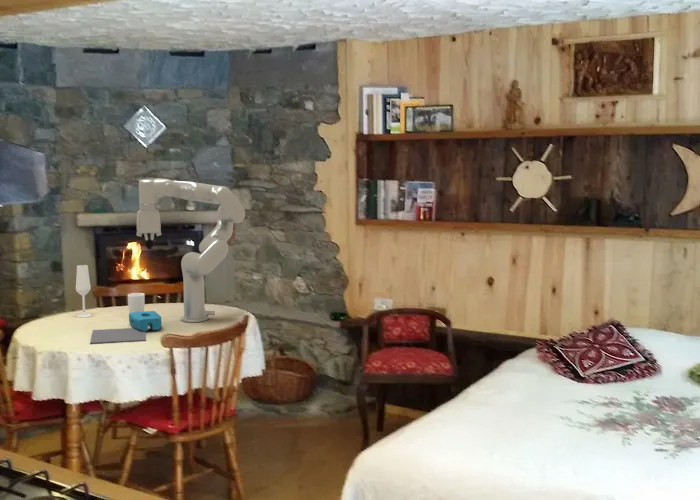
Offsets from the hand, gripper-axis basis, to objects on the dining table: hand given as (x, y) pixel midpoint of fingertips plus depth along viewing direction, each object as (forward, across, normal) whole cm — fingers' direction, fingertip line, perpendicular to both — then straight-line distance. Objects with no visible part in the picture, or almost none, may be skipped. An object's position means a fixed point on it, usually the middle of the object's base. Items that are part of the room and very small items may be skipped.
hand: (149, 248), depth 337 cm
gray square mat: (+35, +15, +14) cm, 41 cm away
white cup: (+35, +4, -25) cm, 44 cm away
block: (+32, +2, +12) cm, 34 cm away
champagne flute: (+35, +28, -31) cm, 55 cm away
